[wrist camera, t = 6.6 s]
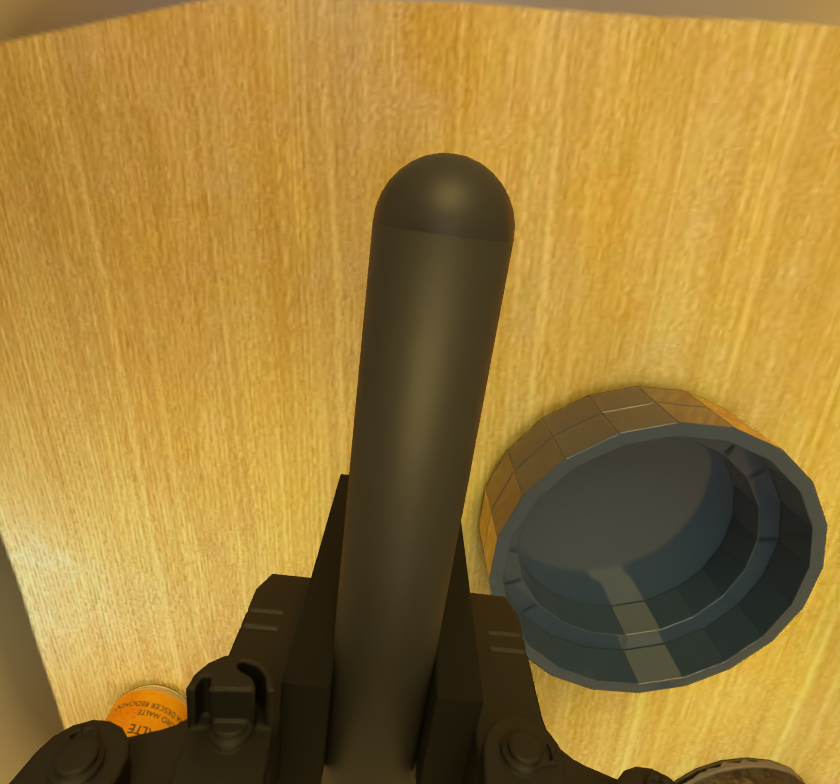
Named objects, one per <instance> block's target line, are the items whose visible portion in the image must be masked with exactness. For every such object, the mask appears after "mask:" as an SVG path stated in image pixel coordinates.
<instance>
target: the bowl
mask: <svg viewBox="0 0 840 784" xmlns="http://www.w3.org/2000/svg"><path fill="white" fill-rule="evenodd" d="M479 530H480V535H481V540H482V546H483V551H484V557H485V562H486V568H487V573H488V578H489V584H490V589H491V594H492V595H493V596H502V597H506V599H507V600H508V602H509V603H510V605H511V606H512V607H513V609H514V610H515V612H516V613H517V614H518V618H519V622H520V626H521V631H522V639H524V643H525V648H526V655H527V656H528V659H529V660H530V661H532V662H533V663H535V664H536V665H537V666H539V667H540V668H542V669H543V670H544V671H546V672H547V673H548V674H550V675H552V676H554V677H557V678H560V679H563V680H566V681H569V682H572V683H575V684H577V685H580V686H583V687H586V688H589V689H593V690H606V691H619V692H632V693H637V692H638V693H641V692H648V691H654V690H661V689H668V688H675V687H681V686H686V685H689V684H692V683H694V682H697V681H700V680H702V679H705V678H707V677H710V676H713V675H715V674H718V673H721V672H723V671H726V670H729V669H730V668H732V667H734V666H735V665H737V664H739V663H740V662H742V661H743V660H745V659H746V658H748V657H749V656H751V655H752V654H754V653H755V652H757V651H758V650H760V649H761V648H763V647H764V646H766V645H767V644H769V643H770V642H772V641H773V640H774V639H775V638H776V637H777V636H778V635H779V633H780V632H781V631H782V630H783V629H784V628H785V627H786V626H787V625H788V624H789V623H790V622H791V620H792V619H793V618H794V617H795V616H796V615H797V614H798V613H799V612H800V611H801V610H802V609H803V607H804V605H805V603H806V601H807V599H808V597H809V595H810V593H811V591H812V589H813V587H814V585H815V583H816V581H817V579H818V577H819V575H820V573H821V571H822V569H823V565H824V554H825V544H826V534H827V522H826V519H825V516H824V513H823V510H822V507H821V504H820V501H819V498H818V495H817V492H816V489H815V486H814V484H813V481H812V480H811V479H810V478H809V477H808V476H807V475H806V474H805V473H804V472H803V471H802V470H801V469H800V468H799V466H798V465H797V464H796V463H795V462H794V461H793V460H792V459H791V458H790V457H789V456H788V455H787V454H786V453H785V452H784V451H783V450H782V449H781V448H780V447H778V446H777V445H775V444H774V443H773V442H771V441H770V440H768V439H767V438H765V437H764V436H763V435H761V434H760V433H758V432H757V431H756V430H754V429H753V428H751V427H750V426H748V425H747V424H745V423H744V422H743V421H741V420H740V419H738V418H737V417H736V416H734V415H733V414H731V413H730V412H728V411H727V410H726V409H724V408H721V407H719V406H717V405H715V404H713V403H711V402H708V401H706V400H704V399H702V398H700V397H698V396H695V395H693V394H691V393H689V392H685V391H680V390H670V389H661V388H651V387H642V386H638V387H637V386H635V387H630V388H624V389H619V390H614V391H609V392H603V393H598V394H593V395H588V396H585V397H583V398H581V399H579V400H577V401H575V402H573V403H571V404H569V405H567V406H565V407H563V408H561V409H559V410H557V411H555V412H553V413H551V414H549V415H547V416H545V417H543V419H541V420H540V421H538V422H537V423H536V424H535V425H534V426H533V427H532V428H531V429H530V430H529V431H528V432H526V433H525V434H524V435H523V436H522V437H521V438H520V439H519V440H518V441H517V442H516V443H514V444H513V445H512V446H511V447H510V448H509V449H508V450H507V451H506V453H505V455H504V457H503V458H502V460H501V462H500V464H499V465H498V467H497V469H496V471H495V472H494V474H493V476H492V477H491V479H490V481H489V483H488V484H487V486H486V489H485V494H484V500H483V505H482V511H481V516H480V522H479Z"/></svg>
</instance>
